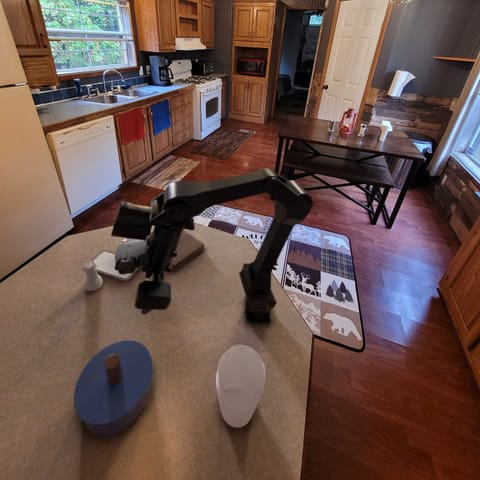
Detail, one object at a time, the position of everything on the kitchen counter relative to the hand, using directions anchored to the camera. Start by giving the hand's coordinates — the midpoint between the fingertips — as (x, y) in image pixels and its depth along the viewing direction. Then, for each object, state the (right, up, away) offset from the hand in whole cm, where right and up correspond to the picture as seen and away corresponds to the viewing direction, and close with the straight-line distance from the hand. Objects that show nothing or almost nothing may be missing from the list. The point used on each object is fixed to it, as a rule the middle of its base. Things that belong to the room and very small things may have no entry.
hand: (145, 294), depth 57 cm
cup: (+21, -19, -6) cm, 29 cm away
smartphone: (-18, -4, +23) cm, 29 cm away
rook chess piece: (-21, -6, +16) cm, 27 cm away
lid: (-3, -12, -8) cm, 15 cm away
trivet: (0, -1, +31) cm, 31 cm away
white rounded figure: (-17, +4, +30) cm, 34 cm away
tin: (-3, -17, -6) cm, 18 cm away
